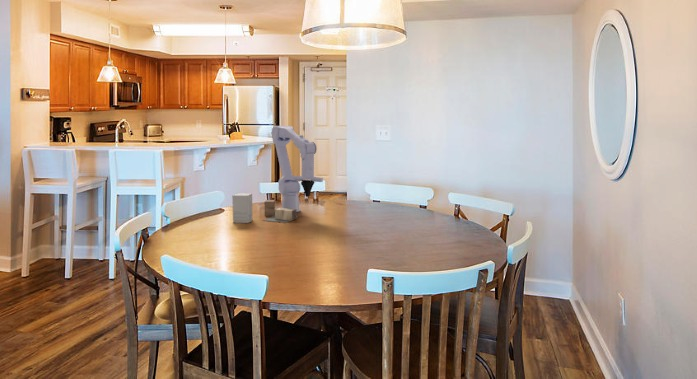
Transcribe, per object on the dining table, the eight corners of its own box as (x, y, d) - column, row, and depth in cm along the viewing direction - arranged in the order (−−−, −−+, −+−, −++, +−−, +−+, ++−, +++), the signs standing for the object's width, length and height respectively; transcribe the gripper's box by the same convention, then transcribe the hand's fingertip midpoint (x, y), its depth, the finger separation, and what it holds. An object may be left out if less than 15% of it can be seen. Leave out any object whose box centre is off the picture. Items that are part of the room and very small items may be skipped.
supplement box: (253, 220, 230) (252, 193, 228) (248, 223, 222) (248, 195, 221) (237, 219, 230) (237, 192, 229) (232, 222, 223) (231, 195, 221)
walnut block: (265, 213, 245) (265, 200, 244) (274, 214, 245) (274, 200, 244) (264, 215, 241) (264, 201, 240) (273, 215, 241) (273, 201, 240)
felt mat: (276, 215, 242) (276, 214, 242) (298, 217, 238) (298, 216, 238) (262, 220, 229) (262, 220, 229) (286, 222, 225) (286, 222, 225)
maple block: (296, 218, 234) (279, 217, 236) (296, 209, 233) (279, 207, 236) (292, 220, 229) (274, 218, 232) (292, 210, 229) (274, 209, 232)
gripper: (290, 167, 232) (290, 196, 234) (319, 169, 228) (318, 198, 230) (296, 166, 239) (296, 194, 241) (324, 168, 234) (324, 196, 236)
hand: (307, 196), depth 236 cm, fingers closed
